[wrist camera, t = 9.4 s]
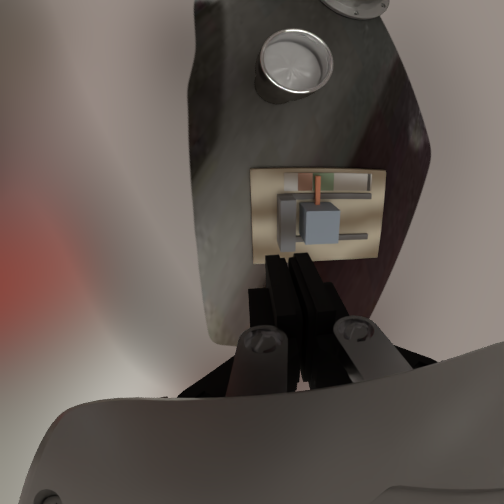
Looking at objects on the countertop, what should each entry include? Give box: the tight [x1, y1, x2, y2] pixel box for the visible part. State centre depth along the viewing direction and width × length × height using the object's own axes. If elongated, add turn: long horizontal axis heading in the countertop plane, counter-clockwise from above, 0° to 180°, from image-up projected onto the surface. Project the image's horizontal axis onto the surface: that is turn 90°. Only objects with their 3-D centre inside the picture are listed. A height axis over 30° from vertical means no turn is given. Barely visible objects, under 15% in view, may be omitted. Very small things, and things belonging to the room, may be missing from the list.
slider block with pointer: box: [299, 176, 340, 245], centre depth 38 cm, size 8×4×4 cm, turn 2°
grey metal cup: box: [254, 28, 333, 104], centre depth 28 cm, size 7×7×15 cm
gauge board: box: [250, 167, 386, 264], centre depth 40 cm, size 14×20×5 cm
